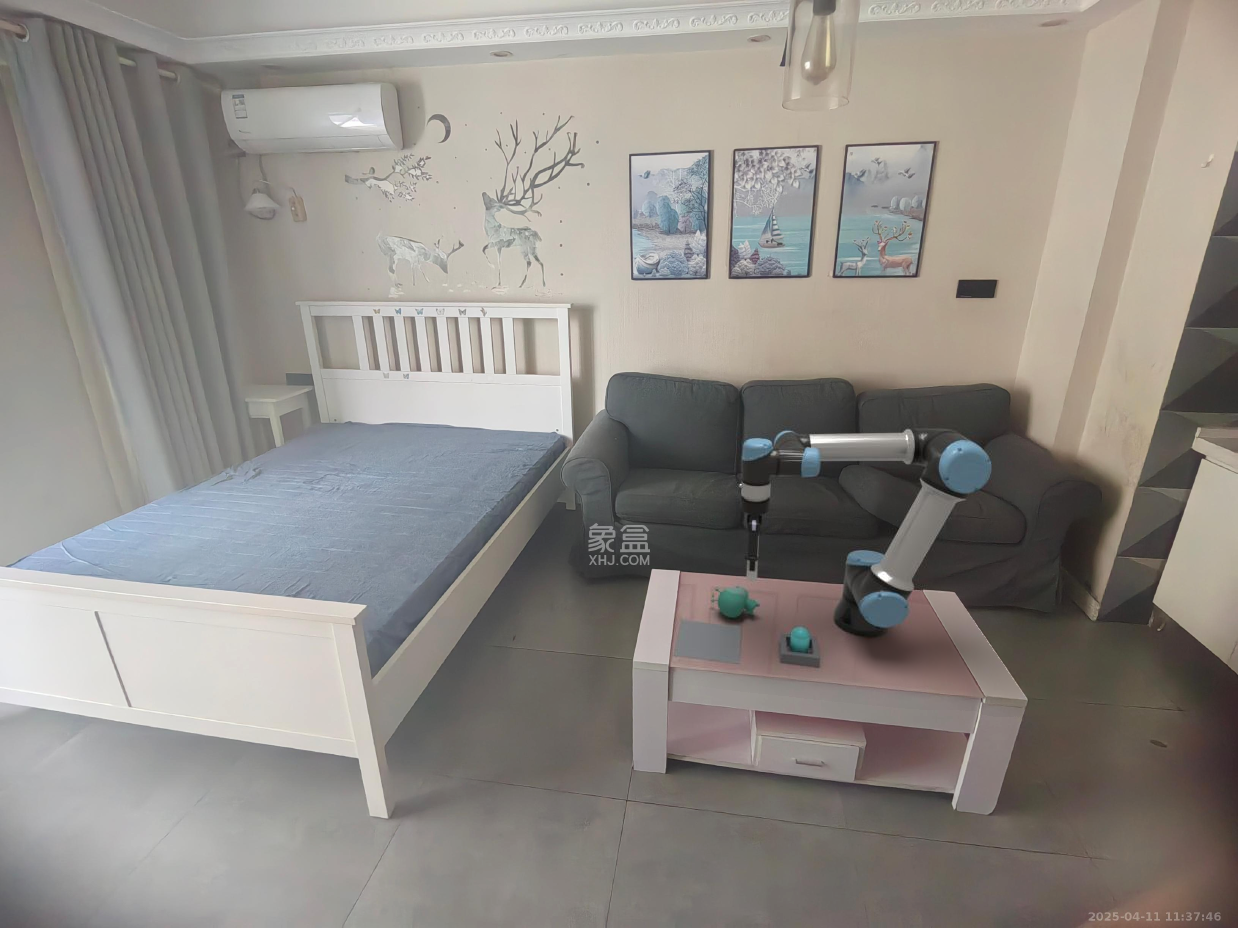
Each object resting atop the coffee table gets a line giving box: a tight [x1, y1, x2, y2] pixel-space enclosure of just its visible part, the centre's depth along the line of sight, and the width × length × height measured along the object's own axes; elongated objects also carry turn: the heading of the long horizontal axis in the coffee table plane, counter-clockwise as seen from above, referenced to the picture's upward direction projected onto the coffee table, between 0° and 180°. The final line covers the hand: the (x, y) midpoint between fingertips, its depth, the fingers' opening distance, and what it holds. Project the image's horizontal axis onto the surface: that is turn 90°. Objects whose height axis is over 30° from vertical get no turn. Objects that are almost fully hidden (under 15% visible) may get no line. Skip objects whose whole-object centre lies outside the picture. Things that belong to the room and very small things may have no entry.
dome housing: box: [779, 632, 821, 668], centre depth 170 cm, size 10×10×3 cm
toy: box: [710, 585, 761, 619], centre depth 188 cm, size 10×10×15 cm
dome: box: [789, 626, 811, 654], centre depth 169 cm, size 5×5×7 cm
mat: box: [673, 619, 742, 665], centre depth 177 cm, size 18×18×1 cm
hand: (752, 568), depth 169 cm, fingers open, 13 cm apart
